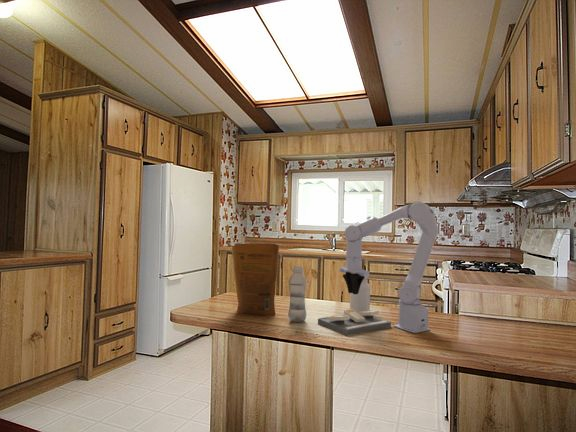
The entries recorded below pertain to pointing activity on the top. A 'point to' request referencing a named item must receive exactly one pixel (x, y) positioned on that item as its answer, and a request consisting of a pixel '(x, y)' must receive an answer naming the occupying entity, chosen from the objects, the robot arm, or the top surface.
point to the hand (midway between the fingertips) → (353, 293)
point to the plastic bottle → (297, 295)
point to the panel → (354, 324)
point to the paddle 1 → (339, 317)
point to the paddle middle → (354, 315)
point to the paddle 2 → (368, 313)
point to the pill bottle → (361, 298)
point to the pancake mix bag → (255, 277)
